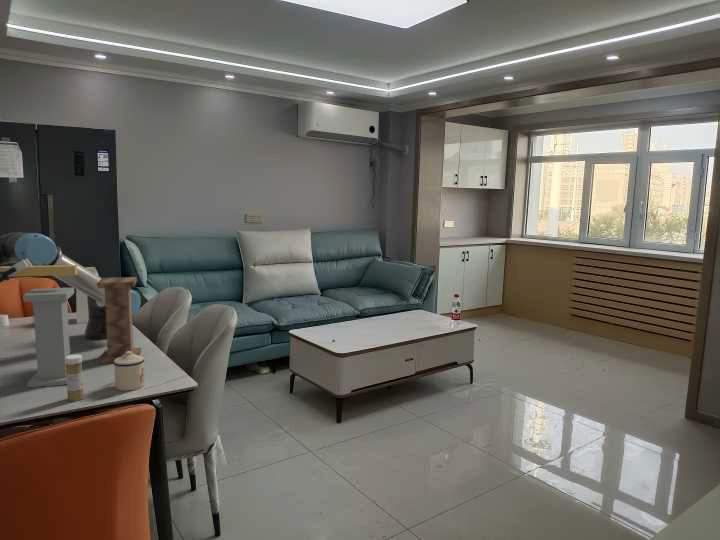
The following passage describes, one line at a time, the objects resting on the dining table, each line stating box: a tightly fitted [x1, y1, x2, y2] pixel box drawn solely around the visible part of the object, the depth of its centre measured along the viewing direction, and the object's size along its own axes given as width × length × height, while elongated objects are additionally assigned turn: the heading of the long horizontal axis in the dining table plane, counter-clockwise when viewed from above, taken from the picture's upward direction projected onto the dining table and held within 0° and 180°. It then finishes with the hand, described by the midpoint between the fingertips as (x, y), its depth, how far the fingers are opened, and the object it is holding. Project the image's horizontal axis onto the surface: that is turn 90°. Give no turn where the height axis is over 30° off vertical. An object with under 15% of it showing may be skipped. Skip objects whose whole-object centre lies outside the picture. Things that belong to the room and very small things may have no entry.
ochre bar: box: [0, 265, 77, 278], centre depth 172 cm, size 22×3×3 cm, turn 107°
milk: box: [75, 266, 99, 324], centre depth 255 cm, size 12×12×26 cm
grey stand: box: [22, 287, 75, 388], centre depth 173 cm, size 13×13×30 cm
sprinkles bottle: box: [65, 354, 85, 402], centre depth 158 cm, size 5×5×13 cm
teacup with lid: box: [113, 351, 145, 392], centre depth 171 cm, size 12×9×12 cm
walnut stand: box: [97, 276, 142, 365], centre depth 197 cm, size 13×13×30 cm
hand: (27, 262), depth 171 cm, fingers closed on ochre bar, 3 cm apart
